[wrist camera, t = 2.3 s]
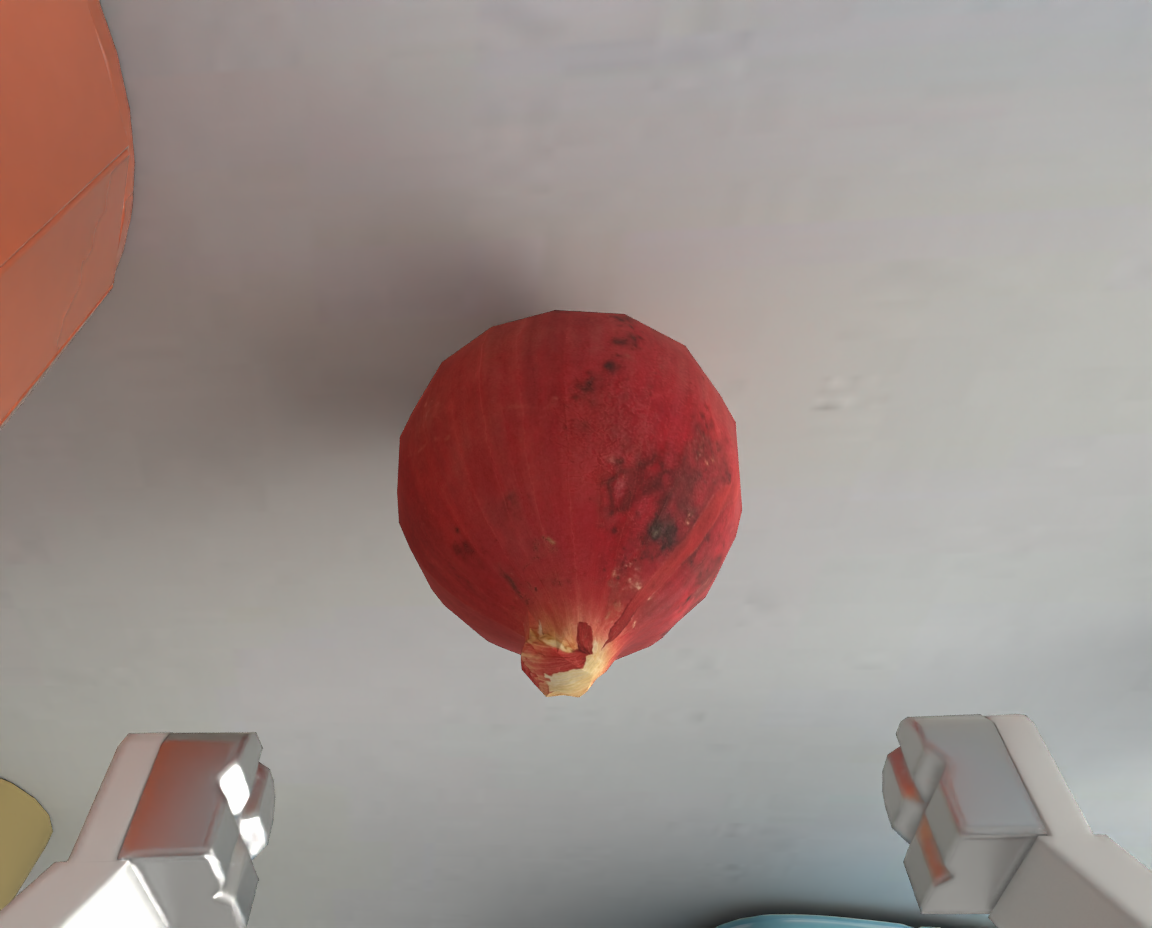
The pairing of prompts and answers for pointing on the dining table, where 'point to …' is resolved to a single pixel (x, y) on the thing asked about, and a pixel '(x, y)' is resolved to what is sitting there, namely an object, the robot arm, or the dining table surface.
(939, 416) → the dining table surface
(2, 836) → the olive pawn piece
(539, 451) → the onion
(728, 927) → the casserole dish
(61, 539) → the dining table surface
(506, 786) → the dining table surface
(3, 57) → the pot
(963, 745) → the robot arm
